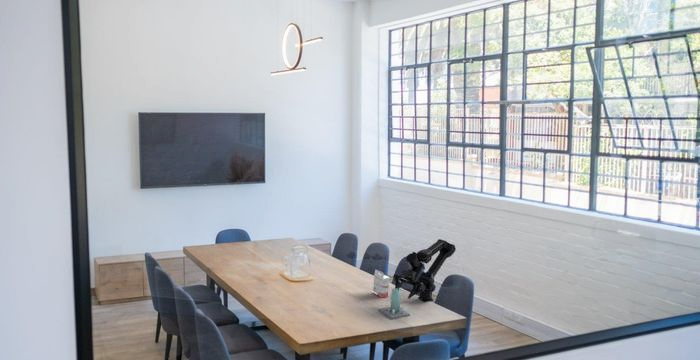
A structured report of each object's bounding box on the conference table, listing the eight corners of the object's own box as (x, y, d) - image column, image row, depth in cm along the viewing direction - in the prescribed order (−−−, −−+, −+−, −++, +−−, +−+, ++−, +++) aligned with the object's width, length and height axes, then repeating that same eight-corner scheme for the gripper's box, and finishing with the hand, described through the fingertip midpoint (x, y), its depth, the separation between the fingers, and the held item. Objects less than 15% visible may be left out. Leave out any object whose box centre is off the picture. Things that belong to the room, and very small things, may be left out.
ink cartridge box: (388, 296, 355) (390, 272, 352) (381, 298, 352) (383, 273, 349) (378, 291, 361) (381, 267, 359) (372, 293, 359) (374, 268, 356)
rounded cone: (392, 308, 336) (394, 287, 334) (401, 311, 334) (402, 290, 331) (388, 311, 332) (390, 290, 330) (396, 313, 330) (398, 292, 327)
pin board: (397, 307, 341) (397, 301, 340) (410, 315, 331) (410, 309, 330) (378, 310, 335) (379, 304, 334) (391, 319, 325) (392, 312, 324)
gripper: (396, 259, 342) (382, 283, 336) (424, 268, 330) (410, 293, 324) (403, 269, 349) (390, 293, 343) (431, 279, 337) (417, 303, 331)
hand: (401, 295), depth 335 cm, fingers open, 9 cm apart
